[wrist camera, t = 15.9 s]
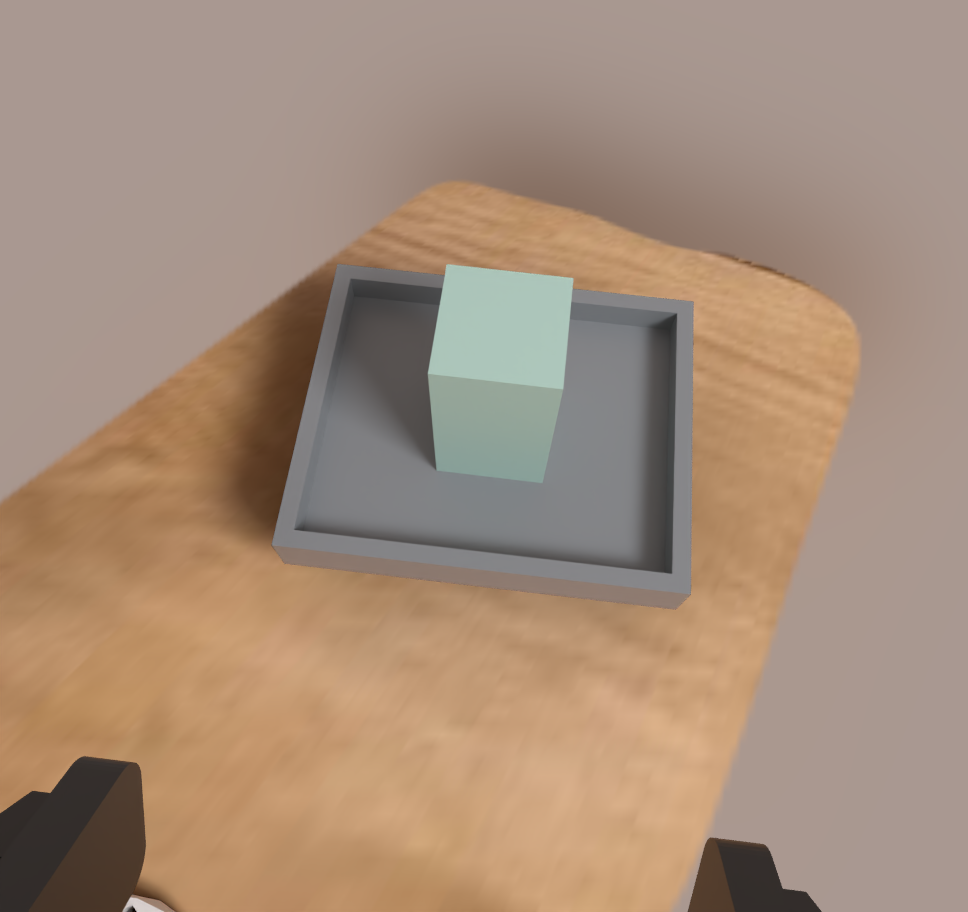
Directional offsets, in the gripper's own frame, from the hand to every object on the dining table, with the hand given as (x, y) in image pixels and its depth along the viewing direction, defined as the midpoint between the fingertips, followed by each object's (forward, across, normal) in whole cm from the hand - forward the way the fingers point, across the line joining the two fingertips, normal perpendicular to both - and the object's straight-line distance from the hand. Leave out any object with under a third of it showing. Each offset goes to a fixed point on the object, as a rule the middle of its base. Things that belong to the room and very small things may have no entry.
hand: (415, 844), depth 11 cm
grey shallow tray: (+31, 0, +6) cm, 32 cm away
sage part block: (+28, 0, +3) cm, 28 cm away
